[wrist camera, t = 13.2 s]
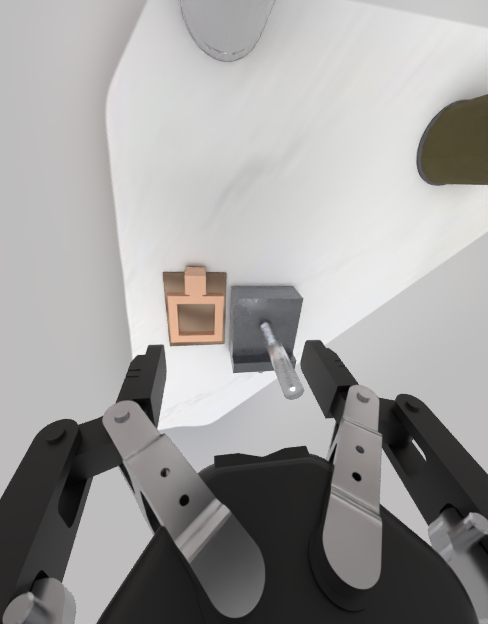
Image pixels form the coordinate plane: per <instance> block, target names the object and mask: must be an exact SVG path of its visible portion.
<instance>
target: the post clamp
mask: <svg viewBox="0 0 488 624" xmlns="http://www.w3.org/2000/svg"><path fill="white" fill-rule="evenodd" d="M302 302H303V298H302V296H301V295H300V294H299V293H298V292H297V291H296V289H295V288H294V287H232V289H231V314H230V340H229V350H230V357H231V363H232V369H233V373H241V372H259V373H262V372H264V371H274V370H275V373H276V375H277V378H278V380H279V383H280V386H281V388H282V391H283V393H284V396H285V397H286V398H287V399H290V400H293V399H297V398H299V397H300V396H301V395H302V394H303V392H304V389H303V386H302V384H301V382H300V380H299V379H298V376H297V374H296V372H295V370H294V369H295V364H296V359H295V357H294V355H293V348H294V343H295V338H296V333H297V328H298V323H299V317H300V312H301V307H302Z"/></svg>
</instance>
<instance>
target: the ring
mask: <svg viewBox="0 0 488 624" xmlns="http://www.w3.org/2000/svg"><path fill="white" fill-rule="evenodd" d="M167 298H168V311H169V323H170V336H171V343H174V342H212V341H222V331H223V306H224V294H223V293H206V269H205V267H186V270H185V293H168V296H167ZM178 304H215V318H214V331H207V332H179V317H178Z"/></svg>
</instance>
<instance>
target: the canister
mask: <svg viewBox="0 0 488 624" xmlns="http://www.w3.org/2000/svg"><path fill="white" fill-rule="evenodd" d="M417 165H418V170H419V174H420V175H421V177H422V178H423V179H424V180H425V181H426V182H427V183H429V184H431V185H438V186H439V185H445V184H471V185H488V94H487V95H484V96H481V97H477V98H474V99H471V100H461V101H457V102H454V103H452V104H450V105H449V106H447V107H445V108H444V109H443V110H442V111H441V112H440V113H439V114H438V115H437V116H436V117H435V118H434V119H433V120H432V121H431V123H430V124H429V126H428V128H427V129H426V131H425V132H424V134H423V137H422V139H421V141H420V145H419V149H418V156H417Z"/></svg>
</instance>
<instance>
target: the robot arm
mask: <svg viewBox="0 0 488 624" xmlns="http://www.w3.org/2000/svg"><path fill="white" fill-rule="evenodd" d="M180 2H181V7H182V13H183V16H184V19H185V22H186V25H187V27H188V29H189V31H190V33H191V35H192V37H193V39H194V40H195V41H196V43H197V44H198V45H199V47H200V48H201V49H203V50H204V51H205V52H206V53H207V54H208V55H210V56H212V57H213V58H215V59H219V60H222V61H234V60H237V59H240V58H242V57H243V56H245V55H246V54H248V53H249V52H250V51H251V50H252V48H253V47H254V46H255V44H256V43H257V41H258V39H259V38H260V35H261V33H262V30H263V28H264V26H265V23H266V21H267V18H268V16H269V14H270V11H271V9H272V7H273V4H274V2H275V0H180ZM301 369H302V372H303V374H304V376H305V378H306V380H307V382H308V384H309V386H310V388H311V390H312V392H313V394H314V396H315V398H316V400H317V402H318V404H319V406H320V408H321V410H322V412H323V414H324V416H325V418H334V419H335V420H336V423H335V425H334V429H333V433H332V437H331V442H330V446H329V450H328V454H327V457H326V460H325V459H323V458H321V457H319V456H317V455H313V454H309V452H308V450H307V447H306V446H300V447H291V448H284V449H281V450H279V451H277V452H274V453H272V454H269V455H267V456H264V457H259V456H252V455H246V454H240V453H236V454H228V455H218V456H214V464H212V465H210V466H208V467H206V468H204V469H203V470H201V471H200V472H199V473H198V474H197V473H196V472H195V470H194V469H193V468H192V466H191V465H190V464H189V463H188V461H187V460H186V459H185V457H184V456H183V455H182V453H181V452H180V451H179V450H178V449H177V447H176V446H175V444H174V443H173V442H172V441H171V439H170V438H169V437H168V436H167V435H166V434H162V435H161V434H160V433H159V431H158V430H157V427H158V421H159V415H160V410H161V404H162V398H163V392H164V387H165V381H166V359H165V350H164V345H148V348H147V351H146V354H145V355H137V356H136V357H135V358H134V359H133V361H132V362H131V363H130V366H129V369H128V372H127V374H126V378H125V379H124V382H123V385H122V388H121V390H120V393H119V396H118V398H117V401H116V403H115V404H114V405H112V406H111V407H110V408H109V409H108V410H107V411H106V412H105V414H104V415H103V416H102V417H100V418H98V419H95V420H92V421H89V422H86V423H82V424H79V425H78V424H77V422H75V421H74V420H71V419H62V420H59V421H55V422H53V423H51V424H49V425H47V426H46V427H44V428H43V429H42V430H41V431H40V432H39V433H38V434H37V435H36V437H35V438H34V440H33V442H32V444H31V445H30V447H29V449H28V451H27V452H26V454H25V456H24V458H23V460H22V461H21V463H20V465H19V467H18V469H17V470H16V472H15V474H14V476H13V477H12V479H11V481H10V483H9V485H8V486H7V489H6V490H5V492H4V494H3V495H2V497H1V499H0V624H74V621H75V614H76V603H75V599H74V597H73V595H72V594H71V593H70V592H69V591H68V590H67V588H66V587H64V585H63V584H62V581H63V577H64V574H65V570H66V567H67V564H68V560H69V557H70V554H71V550H72V547H73V543H74V540H75V537H76V533H77V530H78V527H79V523H80V520H81V516H82V513H83V510H84V506H85V503H86V499H87V496H88V493H89V489H90V486H91V482H92V479H93V476H95V475H98V474H100V473H102V472H105V471H107V470H110V469H112V468H114V467H117V466H118V467H119V469H120V471H121V473H122V475H123V477H124V479H125V480H126V482H127V484H128V486H129V488H130V490H131V491H132V493H133V495H134V497H135V499H136V501H137V503H138V505H139V508H140V510H141V512H142V514H143V516H144V518H145V520H146V522H147V524H148V526H149V528H150V530H151V531H152V533H153V535H154V536H153V538H152V539H151V541H150V542H149V544H148V545H147V547H146V548H145V550H144V551H143V553H142V554H141V556H140V557H139V559H138V560H137V562H136V563H135V565H134V566H133V568H132V569H131V571H130V572H129V574H128V575H127V577H126V578H125V580H124V582H123V583H122V585H121V586H120V588H119V589H118V591H117V592H116V594H115V595H114V597H113V598H112V600H111V601H110V603H109V604H108V606H107V607H106V609H105V610H104V612H103V613H102V615H101V617H100V619H99V620H98V622H97V624H488V474H487V473H486V472H485V471H484V470H483V469H482V467H481V466H480V465H479V464H478V463H477V462H476V461H475V460H474V459H473V457H472V456H471V455H470V454H469V453H468V452H467V451H466V450H465V448H463V446H462V445H461V444H460V443H459V442H458V441H457V439H456V438H455V437H454V436H453V435H452V434H451V433H450V432H449V430H448V429H447V428H446V427H445V426H444V425H443V424H442V423H441V422H440V420H439V419H438V418H437V417H436V416H435V415H434V414H433V413H432V411H431V410H430V409H429V408H428V407H427V406H426V405H425V404H424V403H423V402H422V401H421V400H419V399H417V398H416V397H414V396H411V395H408V394H400V395H398V396H397V397H396V399H395V401H394V400H389V399H383V398H379V397H378V396H377V395H376V394H375V393H374V392H373V391H372V390H371V389H369V388H367V387H364V386H361V385H359V384H358V382H357V381H356V380H355V378H354V377H353V376H352V374H351V373H350V372H349V370H348V369H347V368H346V367H345V365H344V364H343V362H342V361H341V359H340V358H339V357H338V355H337V354H336V353H335V352H333V351H332V350H330V349H329V348H326V347H325V346H324V345H323V343H322V342H321V341H320V340H307V341H306V342H305V345H304V349H303V353H302V358H301ZM413 439H414V440H415V441H416V443H417V444H418V446H419V447H420V448H421V450H422V451H423V453H424V454H425V457H426V461H425V459H424V458H423V456H422V455H421V454H420V452H419V451H418V450H417V448H416V447H415V445H414V444H413V443H412V440H413ZM382 448H383V450H384V452H385V453H386V455H387V457H388V458H389V460H390V462H391V464H392V465H393V467H394V469H395V470H396V472H397V474H398V475H399V477H400V479H401V480H402V482H403V484H404V486H405V487H406V489H407V491H408V492H409V494H410V496H411V497H412V499H413V501H414V502H415V504H416V506H417V507H418V509H419V511H420V512H421V514H422V516H423V518H424V519H425V521H426V522H427V524H428V526H429V528H428V535H429V539H430V542H431V544H432V546H430V545H428V544H427V543H426V542H425V541H424V540H422V539H421V538H420V537H419V536H418V535H417V534H415V533H414V532H413V531H412V530H411V529H409V528H408V527H407V526H406V525H404V524H403V523H402V522H401V521H400V520H399V519H397V518H396V517H395V516H394V515H393V514H392V513H390V512H389V511H388V510H387V509H386V508H384V507H383V506H382V505H381V504H380V478H381V452H382Z"/></svg>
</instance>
